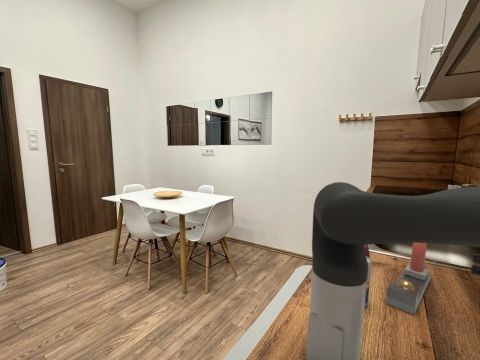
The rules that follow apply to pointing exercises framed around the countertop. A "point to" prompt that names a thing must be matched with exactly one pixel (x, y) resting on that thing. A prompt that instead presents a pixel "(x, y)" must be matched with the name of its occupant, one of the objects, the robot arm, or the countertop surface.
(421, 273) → the handle
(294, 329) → the countertop surface
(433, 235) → the robot arm
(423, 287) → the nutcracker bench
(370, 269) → the energy drink
